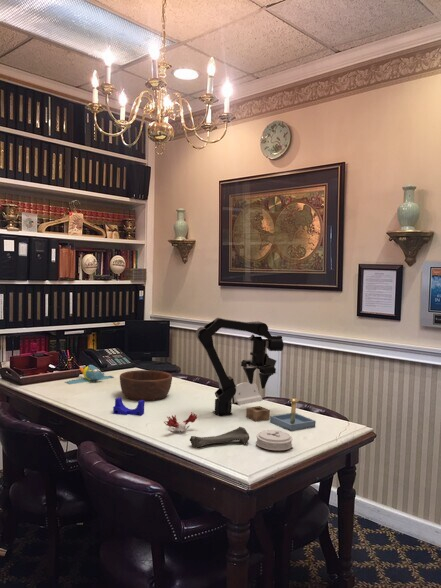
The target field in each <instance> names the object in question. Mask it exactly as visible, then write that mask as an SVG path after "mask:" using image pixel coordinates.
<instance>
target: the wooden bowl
mask: <svg viewBox="0 0 441 588" xmlns="http://www.w3.org/2000/svg"><path fill="white" fill-rule="evenodd" d="M172 381H173V375H172V374H171V373H170V372H166V371H161V370H153V369H152V370H149V369H139V370H129V371H128V370H127V371H125V372H122V373H121V374H119V382H120V389H121V392H122V394H123V395H124V397H125V398H126V399H129V400H132V401H140V400H145V402H147V401H148V402H151V401H160V400H163V399H165V398H166V397H167V396H168V394H169V392H170V390H171V386H172V383H173V382H172Z"/></svg>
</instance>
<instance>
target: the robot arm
mask: <svg viewBox="0 0 441 588" xmlns="http://www.w3.org/2000/svg"><path fill="white" fill-rule="evenodd" d="M222 328H223V329H231V330H236V331H244V332H249V333H250V334H251V335H250V336H249V337H248V340H249V341H252V348H251V349H252V351H251V352H249V355H250V356H251V359H243V360H242V361H241V362H240V363H241V364H240V366H241V367H242V370H244V373H245V375H246V377H247V380H248V382H249V383H250V384H252V383H254V375H255V371H256V370H257V369H258V370H259V373H258V376H259V383H260V387H261V389H262V390H263V389H265V387H266V386H267V382H268V380H269V378H270V377H271V376H273V375H274V374H276V373H277V368H276V367H275V366H276V363H277V360H276V359H273V358H271V357H270V356H269V354H268V353H267V351H266V349H267V350H268V351H269V352H283V350H284V346H285V344H284V340H283V336H282V335H272V334H271V333H270V331H269V326H268V324H266V323H265V322H262V321H259V320H258V321H240V320H233V319H227V318H222V317H216V318H215V319H214V320H212V321H211V322H209V323H207V324H206V325H204V326H201V327H198V328H197V329H196V331H195V333H194V334H195V337H196V339H197V340H198V342H199V343H200V344H201V346H202V347H203V349H204V350H205V352H206V355H207V356H208V357H207V358H208V359H209V361H210V363H211V366H212V368H213V370H214V372H215V374H216V377H217V381H218V387H219V388H218V389H216V391H215V392H214V394H215V399H214V410H213V411H212V413H213V414H215V415H217V416H219V417H223V416H230V415H233V414H234V413H233V412H232V407H233V406H232V404H233V403H231V399H232V397H233V396H234V395H235V393H236V388H235V387H237V386H236V385H237V384H235V380H234V378H233V377H232V376H231V375H227V373H226V371H225V369H224V367H223V364H222V362H221V359H220V358H219V355H218V353H217V350H216V349H215V345H214V341H213V335H215V334H216V333H217V332H218V331H219V330H220V329H222ZM255 335H256V336H255Z"/></svg>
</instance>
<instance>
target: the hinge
mask: <svg viewBox="0 0 441 588" xmlns="http://www.w3.org/2000/svg"><path fill="white" fill-rule="evenodd" d="M235 385H236V386H237V387H235V388H236V393H235V395H234V396H233V397H232V399H231V403H232V404H235V403H237V406H241V405H242V406H243V405H247V404H252V403H257V402H262V401H263V397H262V396H261V394H260V391H259V389H258V384H256V383H255V382H253V383H252V384H250V383H249V381H247V382H246V381H244V382H241V383H238V384H235Z"/></svg>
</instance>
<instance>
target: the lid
mask: <svg viewBox="0 0 441 588" xmlns="http://www.w3.org/2000/svg"><path fill="white" fill-rule="evenodd" d="M292 441H293V436H292V435H290V433H288V432H286V431H282V430H276V429H265V430H261V431H260V432H257V434H256V442H255V444H256V445H257V446H258V447H259V448H262V449H265V450H268V451H269V450H271V451H286V450H289V449H291V448H292V447H293V444H292Z"/></svg>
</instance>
